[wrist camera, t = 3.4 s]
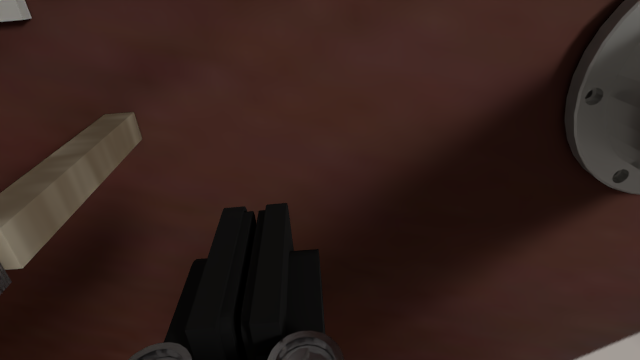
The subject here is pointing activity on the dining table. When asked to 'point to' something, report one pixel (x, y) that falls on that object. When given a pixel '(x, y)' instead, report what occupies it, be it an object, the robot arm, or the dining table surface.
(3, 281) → the bar
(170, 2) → the dining table surface
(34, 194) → the beige wooden bar
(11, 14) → the rubber mat
